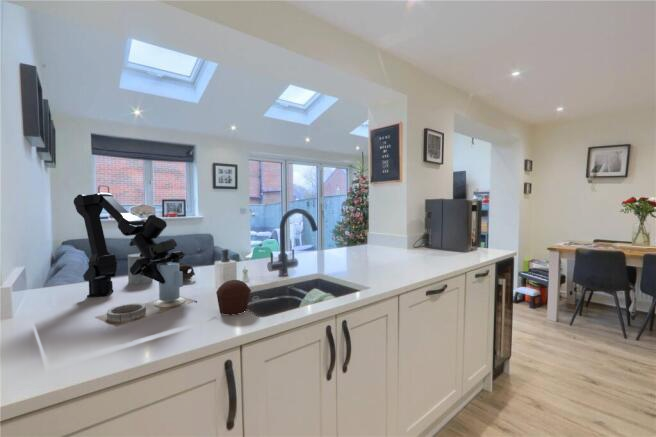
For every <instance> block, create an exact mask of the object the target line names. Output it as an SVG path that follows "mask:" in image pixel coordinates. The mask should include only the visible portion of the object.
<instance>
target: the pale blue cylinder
mask: <svg viewBox="0 0 656 437" xmlns="http://www.w3.org/2000/svg"><path fill="white" fill-rule="evenodd" d="M179 266H180V262H179V263H163V264H160V265H158V270H159V272H160V273H161V275H162V276H163V278H164V280H165V283H164V284H162V283H160V282H158V292H159V293H158V296H159V297H158V299H159V300H161V301H171V300H176V299H178V298H179V297H180V296H181V292H180V291H181V290H180V288H181V287H184V281H183V272H181V271H179Z"/></svg>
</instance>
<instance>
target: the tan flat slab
mask: <svg viewBox="0 0 656 437" xmlns="http://www.w3.org/2000/svg"><path fill="white" fill-rule="evenodd" d="M192 303H196V304H197V303H198V301H197V300H196V299H195V300H194V299H191V298H187V297H183V296H181V295H180V297H179V298H178V299H176V300H171V301H161V300H159V298H158V299H156V300H152V301H148V302H144V303H140V302H139V303H138V302H137V303H135V302H133V303H126V304H121V305H116V306H114V307H111V308H110V309H108V310H107V311H106V313H104V314H102V315H99V316H95V317H94V318H96V319H98V320H101V321H103V322H105V323H107V324H110V325H112V326H114V327H120V326H123V325H125V324H128V323H131V322H135V321H138V320H142V319H144V318H147V317H151V316H155V315H158V314H160V313H164V312H167V311H170V310H172V309H173V310H174V309H176V308H179V307H184V306H186V305H189V304H192Z"/></svg>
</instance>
